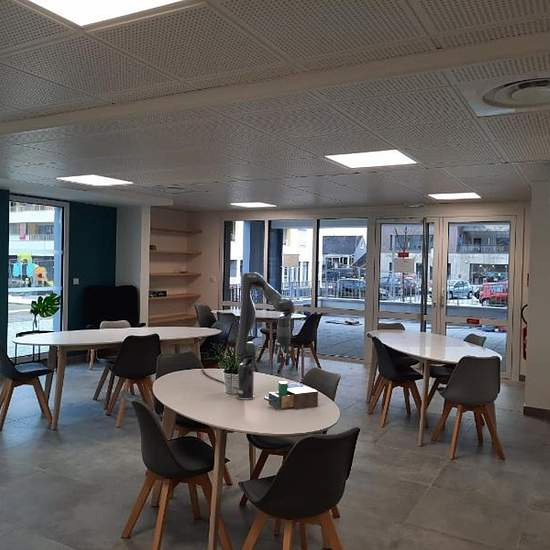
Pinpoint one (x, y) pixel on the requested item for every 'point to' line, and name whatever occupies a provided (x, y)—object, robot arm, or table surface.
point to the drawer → (285, 400)
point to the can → (283, 389)
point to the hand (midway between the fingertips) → (283, 364)
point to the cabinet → (304, 397)
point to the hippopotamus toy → (294, 385)
